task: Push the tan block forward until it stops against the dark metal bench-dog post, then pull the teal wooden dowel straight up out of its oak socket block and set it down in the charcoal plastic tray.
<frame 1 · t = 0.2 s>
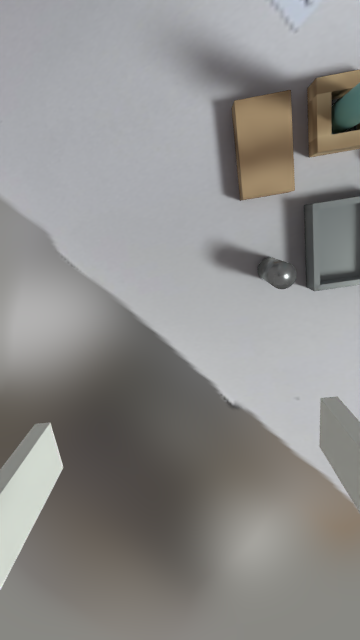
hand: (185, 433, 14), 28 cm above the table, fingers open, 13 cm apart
dowel: (339, 118, 34), resting in socket block
bench dog: (269, 268, 39), on the table
socket block: (339, 118, 34), on the table
tray: (338, 242, 38), on the table
tan block: (260, 152, 36), on the table
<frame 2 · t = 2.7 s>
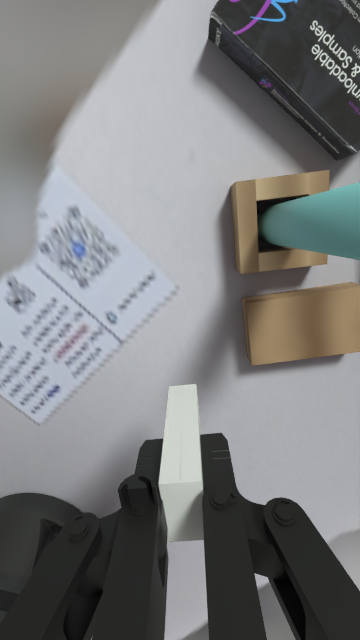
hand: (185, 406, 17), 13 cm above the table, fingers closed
dowel: (273, 224, 26), resting in socket block
socket block: (273, 224, 26), on the table
tan block: (295, 319, 29), on the table
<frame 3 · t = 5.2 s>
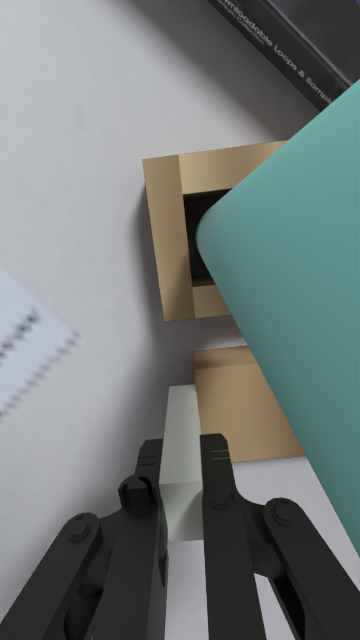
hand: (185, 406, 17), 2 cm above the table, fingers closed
dowel: (225, 236, 15), resting in socket block
socket block: (225, 236, 15), on the table
tan block: (279, 386, 18), on the table, touching gripper
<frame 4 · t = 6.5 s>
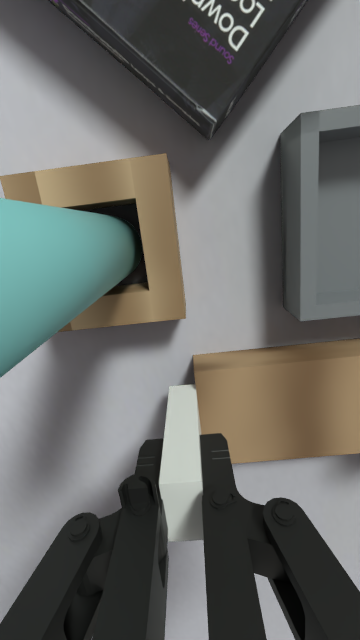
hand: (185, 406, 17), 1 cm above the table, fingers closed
dowel: (112, 248, 16), resting in socket block
socket block: (112, 248, 16), on the table
tan block: (278, 389, 18), on the table
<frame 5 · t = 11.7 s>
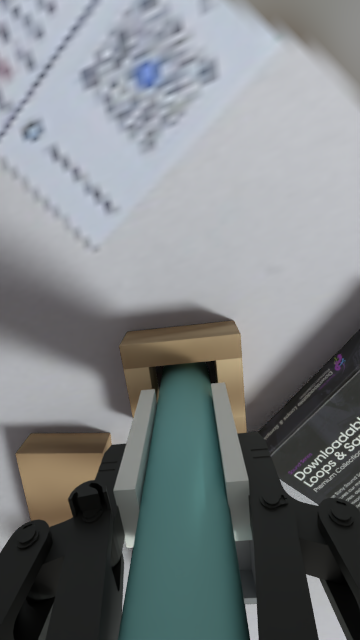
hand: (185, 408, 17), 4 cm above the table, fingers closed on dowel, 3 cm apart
dowel: (185, 374, 20), resting in socket block, touching gripper
socket block: (186, 374, 20), on the table
tray: (205, 525, 25), on the table
tan block: (80, 481, 24), on the table
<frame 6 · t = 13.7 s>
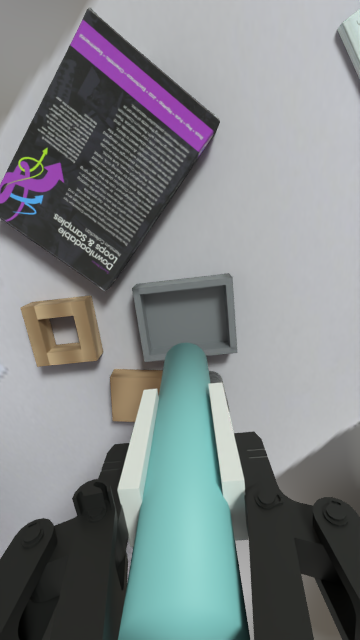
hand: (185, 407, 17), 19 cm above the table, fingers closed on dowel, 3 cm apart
dowel: (185, 362, 22), point 12 cm above the table, touching gripper
bench dog: (210, 382, 37), on the table
socket block: (68, 327, 35), on the table
tray: (186, 314, 34), on the table
tan block: (155, 389, 38), on the table
box: (106, 173, 31), on the table
when the fingers open (6 cm above the table, at t = 16.2 s): dowel stays where it is, resting on tray.
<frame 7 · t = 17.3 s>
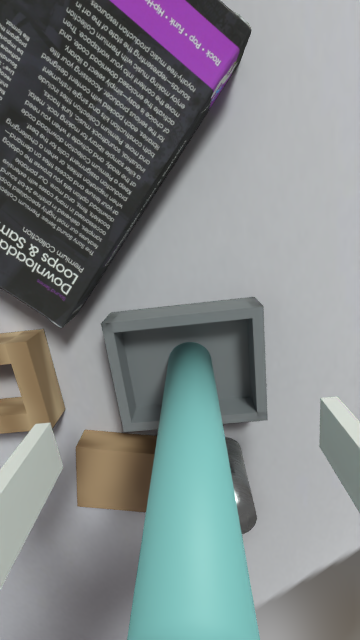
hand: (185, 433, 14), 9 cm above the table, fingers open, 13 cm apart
dowel: (190, 362, 22), point 1 cm above the table, touching tray
bench dog: (223, 452, 25), on the table
socket block: (12, 375, 23), on the table
tray: (188, 357, 23), on the table
tan block: (143, 460, 26), on the table
box: (60, 137, 19), on the table
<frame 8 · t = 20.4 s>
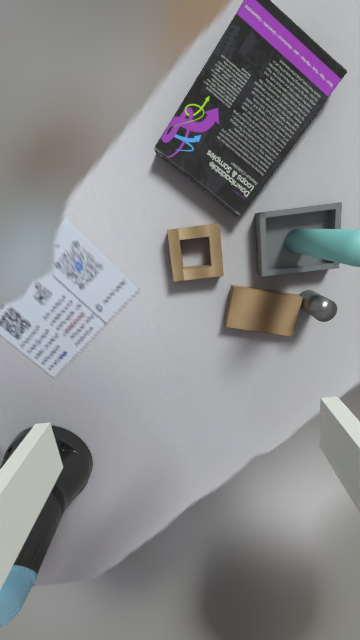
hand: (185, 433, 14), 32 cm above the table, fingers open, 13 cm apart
dowel: (296, 240, 41), point 1 cm above the table, touching tray
bench dog: (307, 300, 45), on the table
socket block: (195, 251, 43), on the table
tray: (293, 240, 42), on the table
tan block: (259, 308, 46), on the table
box: (241, 120, 38), on the table
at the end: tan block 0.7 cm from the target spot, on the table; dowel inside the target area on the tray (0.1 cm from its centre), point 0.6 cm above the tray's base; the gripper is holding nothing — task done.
